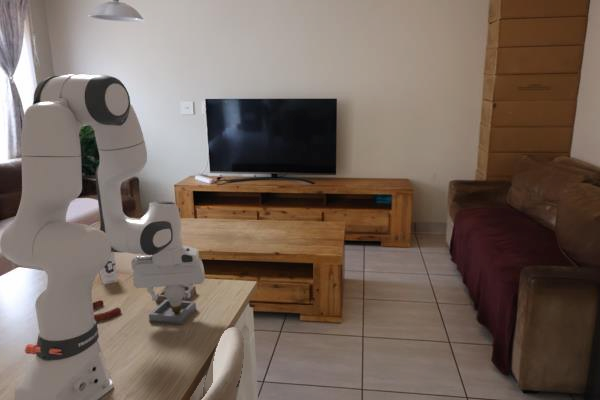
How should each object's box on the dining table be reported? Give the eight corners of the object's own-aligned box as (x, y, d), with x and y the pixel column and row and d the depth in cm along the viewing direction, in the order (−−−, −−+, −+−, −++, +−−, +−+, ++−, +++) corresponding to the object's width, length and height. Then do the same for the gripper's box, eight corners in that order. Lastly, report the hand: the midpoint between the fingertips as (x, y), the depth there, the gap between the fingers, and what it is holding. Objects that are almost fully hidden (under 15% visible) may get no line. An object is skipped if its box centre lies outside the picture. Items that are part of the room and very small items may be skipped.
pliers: (36, 332, 130) (35, 324, 130) (101, 305, 146) (100, 298, 146) (57, 344, 124) (56, 335, 123) (123, 315, 140) (122, 307, 139)
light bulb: (180, 318, 134) (177, 286, 132) (162, 316, 136) (159, 285, 133) (190, 309, 139) (187, 278, 137) (173, 307, 141) (170, 277, 139)
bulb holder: (182, 305, 144) (182, 298, 144) (155, 302, 146) (155, 295, 146) (195, 292, 153) (195, 285, 152) (170, 290, 155) (169, 283, 155)
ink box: (99, 277, 168) (95, 246, 165) (113, 274, 171) (109, 244, 168) (103, 285, 161) (99, 253, 158) (118, 281, 164) (114, 250, 161)
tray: (180, 325, 132) (180, 317, 131) (149, 321, 134) (148, 314, 133) (195, 309, 141) (195, 301, 141) (166, 306, 143) (165, 299, 143)
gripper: (128, 260, 129) (133, 305, 132) (201, 256, 131) (205, 300, 134) (133, 253, 135) (137, 296, 138) (203, 249, 137) (206, 291, 141)
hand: (171, 298), depth 136 cm, fingers open, 8 cm apart
